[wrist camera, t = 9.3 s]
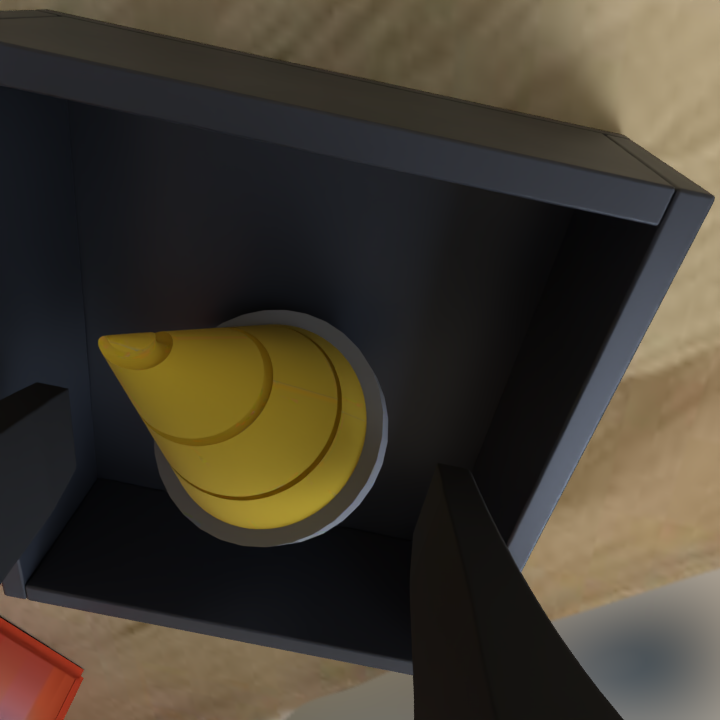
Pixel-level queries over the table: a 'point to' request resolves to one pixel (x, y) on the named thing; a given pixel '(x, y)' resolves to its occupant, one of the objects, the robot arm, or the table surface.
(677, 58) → the table surface
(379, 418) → the yellow traffic cone
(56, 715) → the file binder
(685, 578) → the table surface
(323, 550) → the bin
